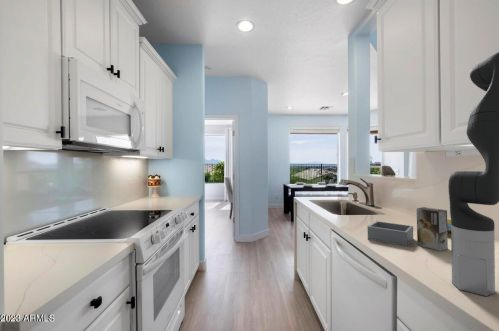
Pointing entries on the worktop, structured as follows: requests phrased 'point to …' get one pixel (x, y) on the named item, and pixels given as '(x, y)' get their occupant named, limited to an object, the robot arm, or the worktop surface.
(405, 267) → the worktop surface
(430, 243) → the coffee box
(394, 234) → the bin
